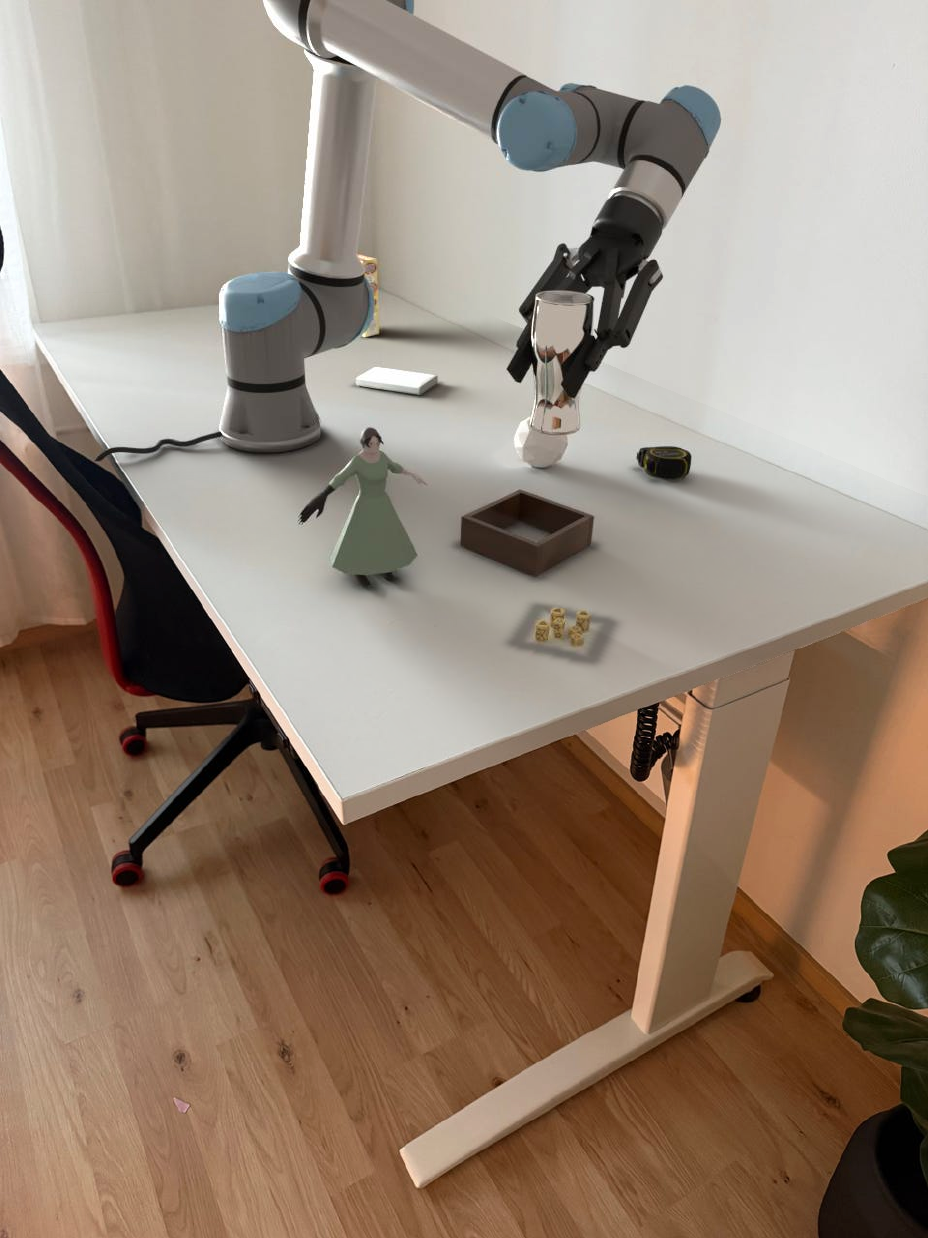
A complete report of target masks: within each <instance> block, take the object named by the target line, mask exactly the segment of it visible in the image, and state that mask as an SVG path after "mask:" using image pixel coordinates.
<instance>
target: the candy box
mask: <svg viewBox="0 0 928 1238" xmlns="http://www.w3.org/2000/svg"><path fill="white" fill-rule="evenodd" d="M357 256H358V258H359V259H360V261H361V262H362V263H363V265H364V266H365V277H366V278H367V280H368V281H369V283H370V286H369V288H370V290H371V291H373V294H374V300H375V310H374V316H373V319H372V322H371V324H370V326H369V328H368V329H367V331H366V332H365V333H364V334H363V335H362V336H361V337H363V338H367V337H371V336H377V335H379V334H380V315H379V314H380V313H379V284H378V283H379V282H378V281H379V279H378V276H379V275H378V258H375V257H371V256H367V255H363V254H359V253H357Z"/></svg>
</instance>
